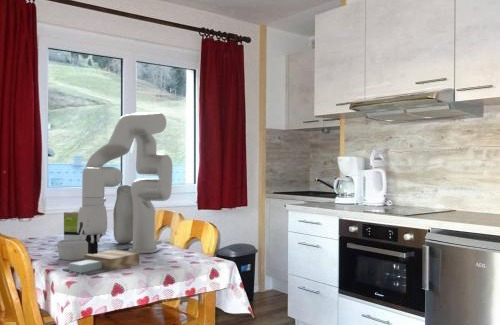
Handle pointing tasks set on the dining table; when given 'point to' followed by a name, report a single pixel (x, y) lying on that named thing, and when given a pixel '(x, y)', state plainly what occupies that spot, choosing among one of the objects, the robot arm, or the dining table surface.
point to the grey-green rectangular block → (85, 265)
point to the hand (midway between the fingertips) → (92, 253)
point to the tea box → (71, 225)
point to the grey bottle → (123, 215)
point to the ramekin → (72, 249)
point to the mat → (92, 271)
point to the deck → (115, 258)
